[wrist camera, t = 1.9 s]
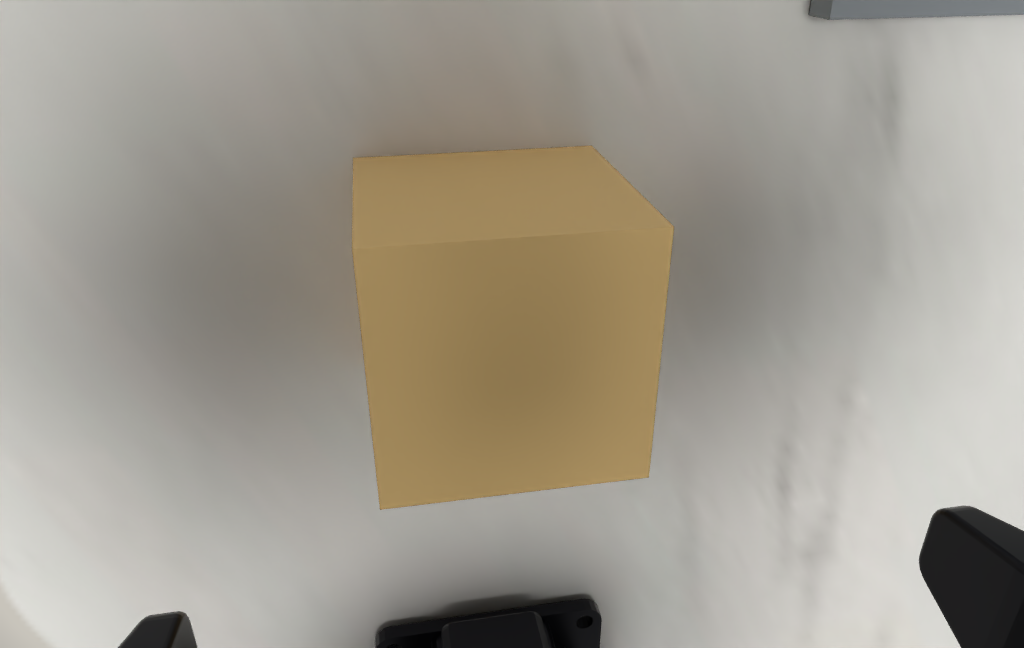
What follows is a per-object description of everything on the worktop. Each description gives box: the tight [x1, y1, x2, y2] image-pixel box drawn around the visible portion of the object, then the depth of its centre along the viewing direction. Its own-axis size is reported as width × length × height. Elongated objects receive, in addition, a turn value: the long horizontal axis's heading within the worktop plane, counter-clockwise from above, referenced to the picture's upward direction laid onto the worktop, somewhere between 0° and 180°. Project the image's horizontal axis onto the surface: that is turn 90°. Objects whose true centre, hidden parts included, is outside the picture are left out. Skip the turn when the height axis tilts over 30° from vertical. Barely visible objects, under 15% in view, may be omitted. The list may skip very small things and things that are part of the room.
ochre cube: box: [352, 146, 674, 510], centre depth 15 cm, size 5×5×5 cm
